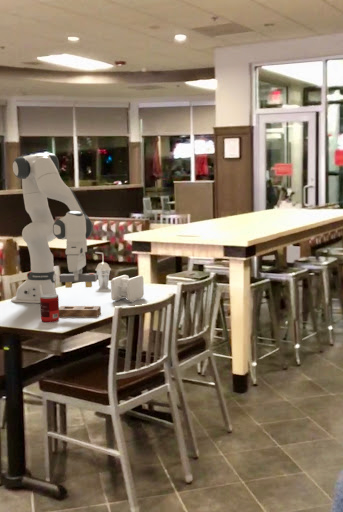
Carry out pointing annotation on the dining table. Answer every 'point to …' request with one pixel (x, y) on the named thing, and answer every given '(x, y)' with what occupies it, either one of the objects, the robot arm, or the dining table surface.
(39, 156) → the robot arm
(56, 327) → the dining table surface
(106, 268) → the cup with straw
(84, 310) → the wooden tray
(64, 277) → the gray bar with feet
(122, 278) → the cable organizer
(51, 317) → the canned food
